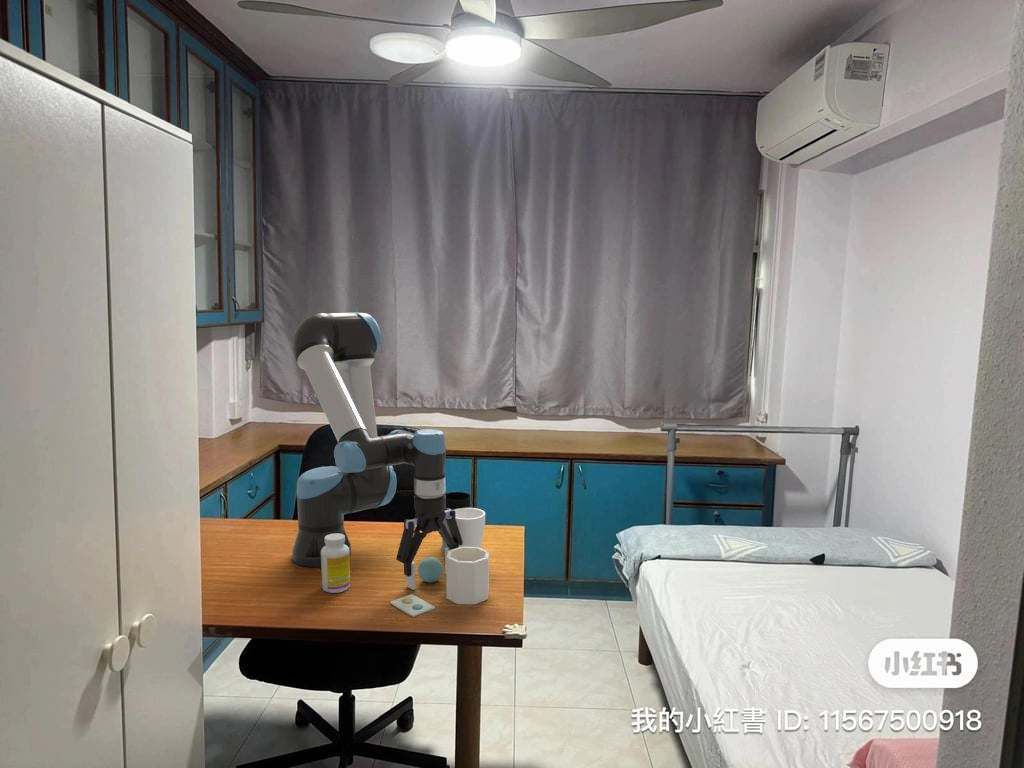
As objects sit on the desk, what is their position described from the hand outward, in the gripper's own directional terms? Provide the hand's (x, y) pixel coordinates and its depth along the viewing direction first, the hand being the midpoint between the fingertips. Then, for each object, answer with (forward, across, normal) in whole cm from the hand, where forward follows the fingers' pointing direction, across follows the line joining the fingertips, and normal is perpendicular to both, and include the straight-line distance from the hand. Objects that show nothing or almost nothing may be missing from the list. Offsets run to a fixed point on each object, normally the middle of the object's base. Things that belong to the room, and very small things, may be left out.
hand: (430, 580), depth 174 cm
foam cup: (0, +15, +4) cm, 16 cm away
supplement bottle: (0, -19, +12) cm, 23 cm away
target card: (0, -11, -8) cm, 14 cm away
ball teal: (0, 0, 0) cm, 0 cm away
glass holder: (0, +20, +15) cm, 25 cm away
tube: (0, +2, -12) cm, 12 cm away
